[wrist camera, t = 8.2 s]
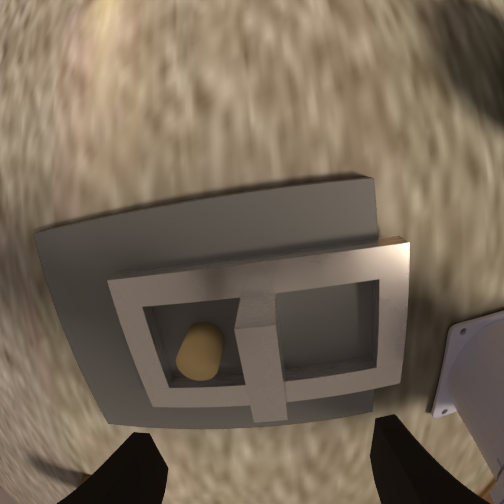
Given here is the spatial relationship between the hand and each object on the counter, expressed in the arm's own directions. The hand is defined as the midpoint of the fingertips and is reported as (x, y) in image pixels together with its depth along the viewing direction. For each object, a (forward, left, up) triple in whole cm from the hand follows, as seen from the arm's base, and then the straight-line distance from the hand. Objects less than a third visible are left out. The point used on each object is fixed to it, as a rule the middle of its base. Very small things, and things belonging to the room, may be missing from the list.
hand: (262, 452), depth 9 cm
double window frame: (0, 0, -8) cm, 8 cm away
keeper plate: (+3, 0, -9) cm, 9 cm away
